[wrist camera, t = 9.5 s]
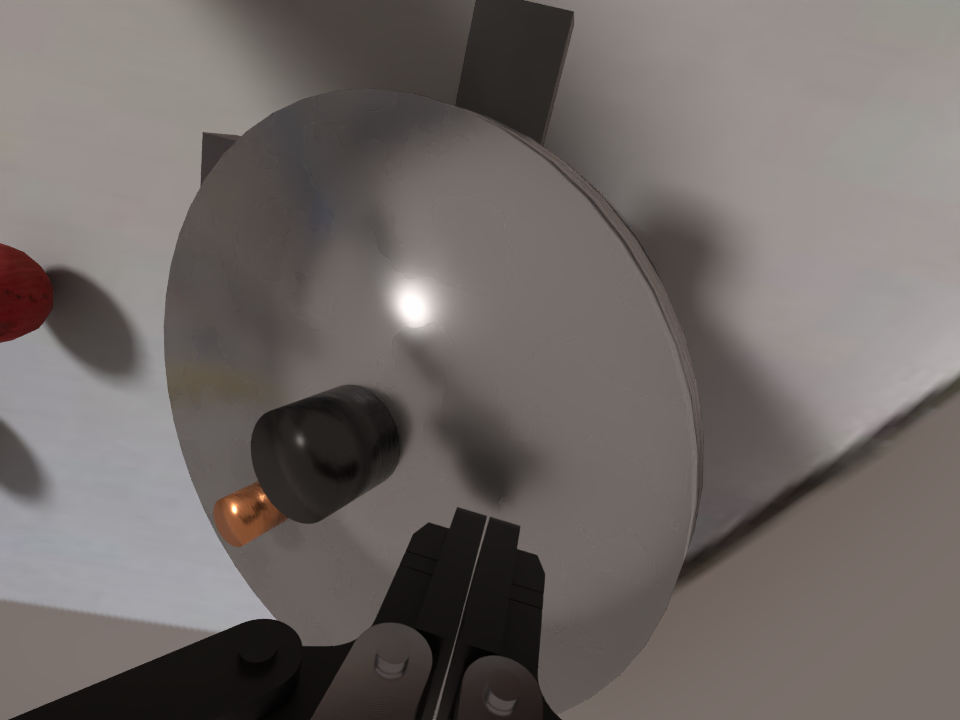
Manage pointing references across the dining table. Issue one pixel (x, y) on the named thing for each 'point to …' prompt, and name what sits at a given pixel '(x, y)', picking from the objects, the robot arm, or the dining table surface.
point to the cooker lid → (430, 373)
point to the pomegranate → (22, 294)
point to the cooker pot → (495, 72)
